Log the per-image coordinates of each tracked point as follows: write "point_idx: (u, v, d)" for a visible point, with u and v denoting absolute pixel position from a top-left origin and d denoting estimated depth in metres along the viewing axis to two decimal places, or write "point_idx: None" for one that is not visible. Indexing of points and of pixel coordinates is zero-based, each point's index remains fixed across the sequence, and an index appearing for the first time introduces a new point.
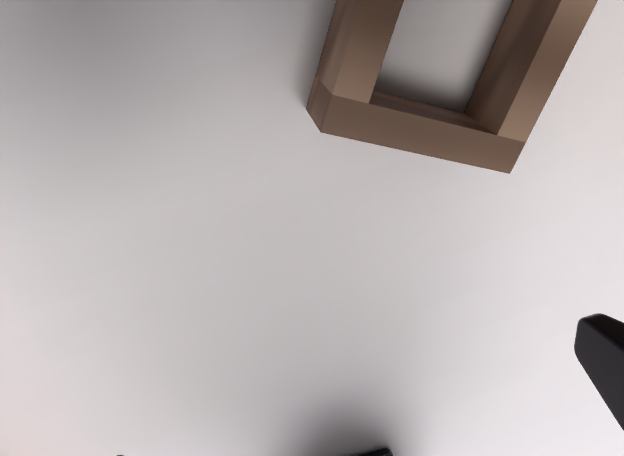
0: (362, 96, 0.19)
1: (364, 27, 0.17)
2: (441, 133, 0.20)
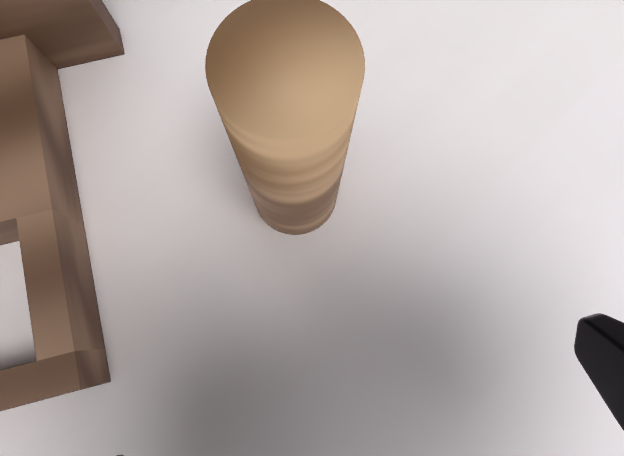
0: None
1: None
2: None
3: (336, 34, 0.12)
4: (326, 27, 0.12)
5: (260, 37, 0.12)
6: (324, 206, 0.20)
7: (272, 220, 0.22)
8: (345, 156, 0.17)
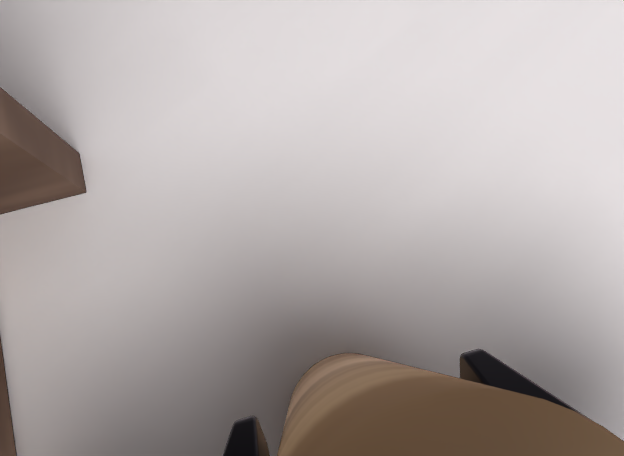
0: None
1: None
2: None
3: None
4: None
5: None
6: None
7: None
8: None
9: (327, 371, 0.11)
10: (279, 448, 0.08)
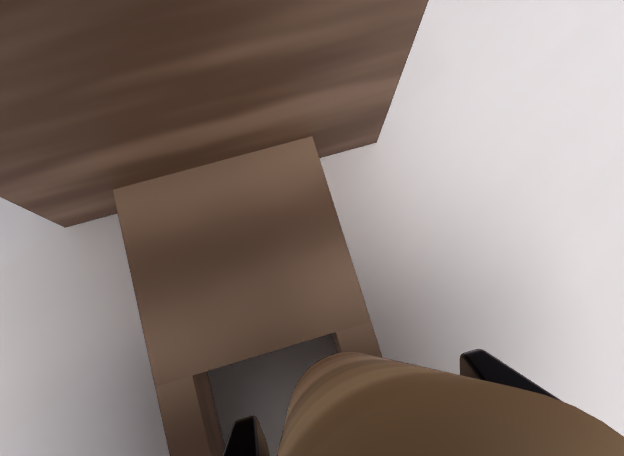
0: None
1: None
2: None
3: None
4: None
5: None
6: None
7: None
8: None
9: (327, 369, 0.11)
10: (279, 446, 0.08)
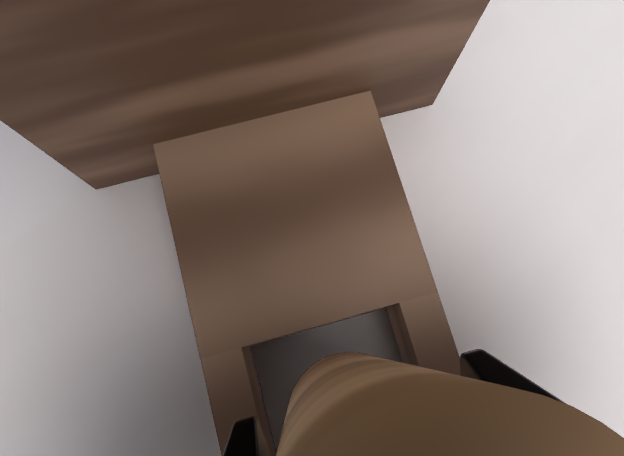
0: None
1: None
2: None
3: None
4: None
5: None
6: None
7: None
8: None
9: (326, 370, 0.11)
10: (278, 446, 0.08)
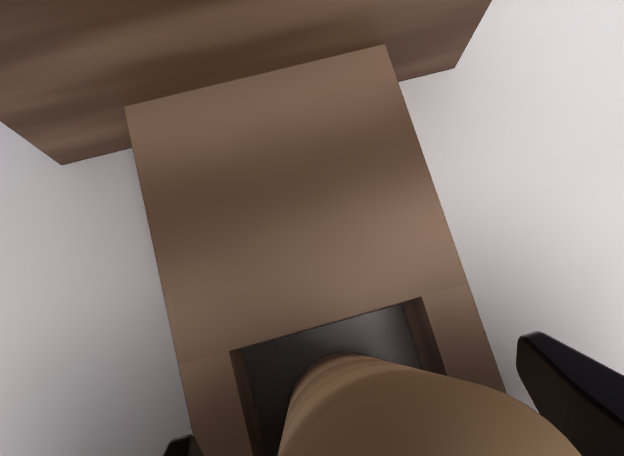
0: None
1: None
2: None
3: None
4: None
5: None
6: None
7: None
8: None
9: (324, 368, 0.12)
10: (283, 433, 0.09)
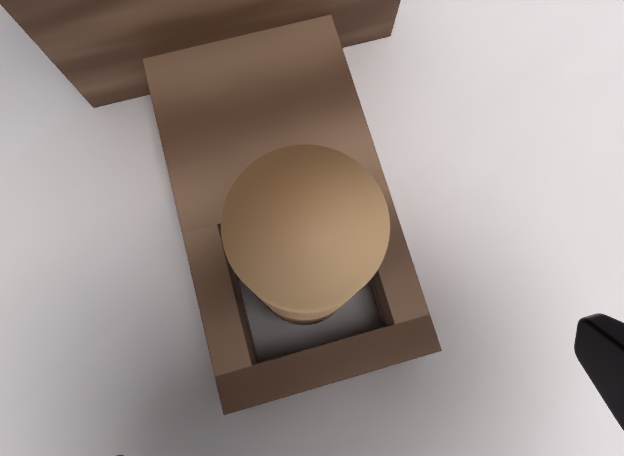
0: (242, 363, 0.19)
1: (211, 311, 0.20)
2: (338, 353, 0.20)
3: (359, 189, 0.12)
4: (348, 182, 0.12)
5: (278, 194, 0.12)
6: (337, 309, 0.19)
7: (282, 318, 0.21)
8: None
9: None
10: None
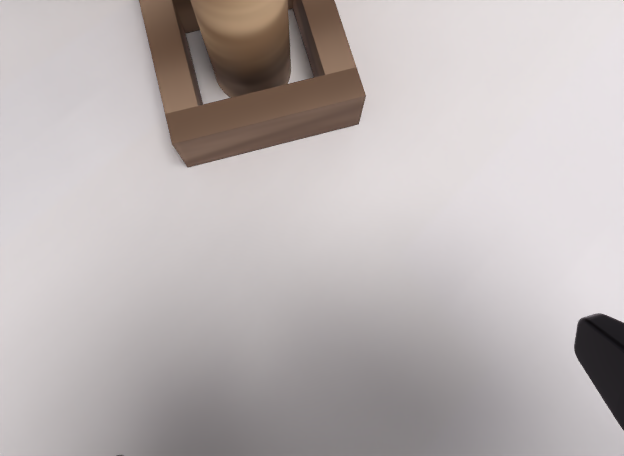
0: (189, 103, 0.22)
1: (163, 62, 0.23)
2: (274, 96, 0.22)
3: None
4: None
5: None
6: (273, 56, 0.22)
7: (228, 80, 0.24)
8: None
9: None
10: None
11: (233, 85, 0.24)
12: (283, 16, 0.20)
